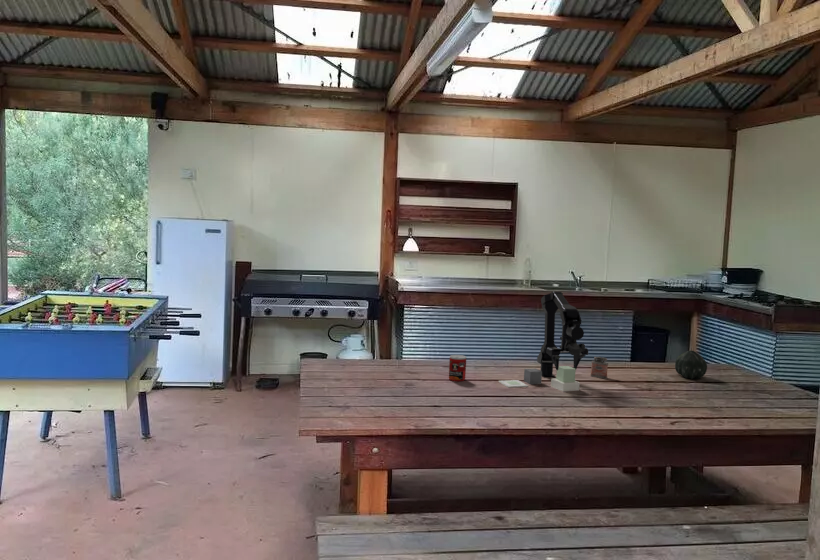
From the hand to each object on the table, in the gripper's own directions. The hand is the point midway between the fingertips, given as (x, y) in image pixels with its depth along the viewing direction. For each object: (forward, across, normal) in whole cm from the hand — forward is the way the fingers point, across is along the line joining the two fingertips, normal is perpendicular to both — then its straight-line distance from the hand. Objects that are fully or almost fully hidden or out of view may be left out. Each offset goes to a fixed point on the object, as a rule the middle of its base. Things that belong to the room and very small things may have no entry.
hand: (566, 369), depth 291 cm
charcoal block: (+9, -10, +12) cm, 18 cm away
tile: (+9, -21, +10) cm, 25 cm away
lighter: (+9, +30, +18) cm, 36 cm away
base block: (+9, 0, 0) cm, 9 cm away
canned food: (+9, -44, +22) cm, 50 cm away
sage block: (+5, 0, 0) cm, 5 cm away
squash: (+9, +79, +11) cm, 80 cm away
